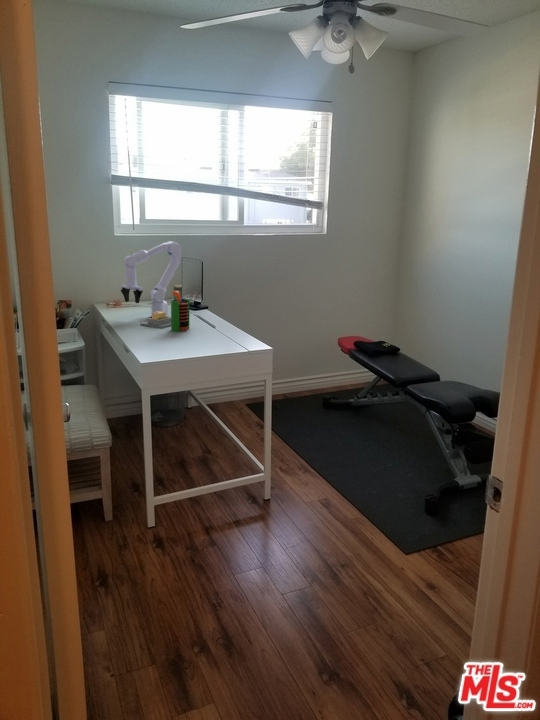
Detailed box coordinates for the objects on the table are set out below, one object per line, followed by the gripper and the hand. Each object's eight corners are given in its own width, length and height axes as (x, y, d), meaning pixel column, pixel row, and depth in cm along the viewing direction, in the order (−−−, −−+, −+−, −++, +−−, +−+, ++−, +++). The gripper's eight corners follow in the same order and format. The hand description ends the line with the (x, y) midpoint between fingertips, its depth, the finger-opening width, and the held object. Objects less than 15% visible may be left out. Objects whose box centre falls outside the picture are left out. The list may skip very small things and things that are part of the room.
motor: (184, 332, 276) (184, 293, 271) (168, 331, 278) (167, 292, 273) (191, 328, 286) (190, 290, 281) (175, 327, 288) (174, 289, 282)
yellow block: (162, 320, 298) (161, 309, 296) (167, 321, 296) (167, 310, 294) (151, 323, 290) (150, 312, 288) (156, 324, 288) (156, 312, 287)
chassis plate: (157, 320, 303) (157, 314, 302) (178, 323, 296) (178, 317, 295) (140, 325, 291) (140, 318, 290) (162, 328, 284) (161, 321, 283)
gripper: (116, 277, 300) (117, 301, 303) (135, 279, 293) (137, 304, 297) (125, 276, 306) (126, 300, 309) (144, 278, 299) (145, 302, 303)
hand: (132, 302), depth 303 cm, fingers open, 7 cm apart
